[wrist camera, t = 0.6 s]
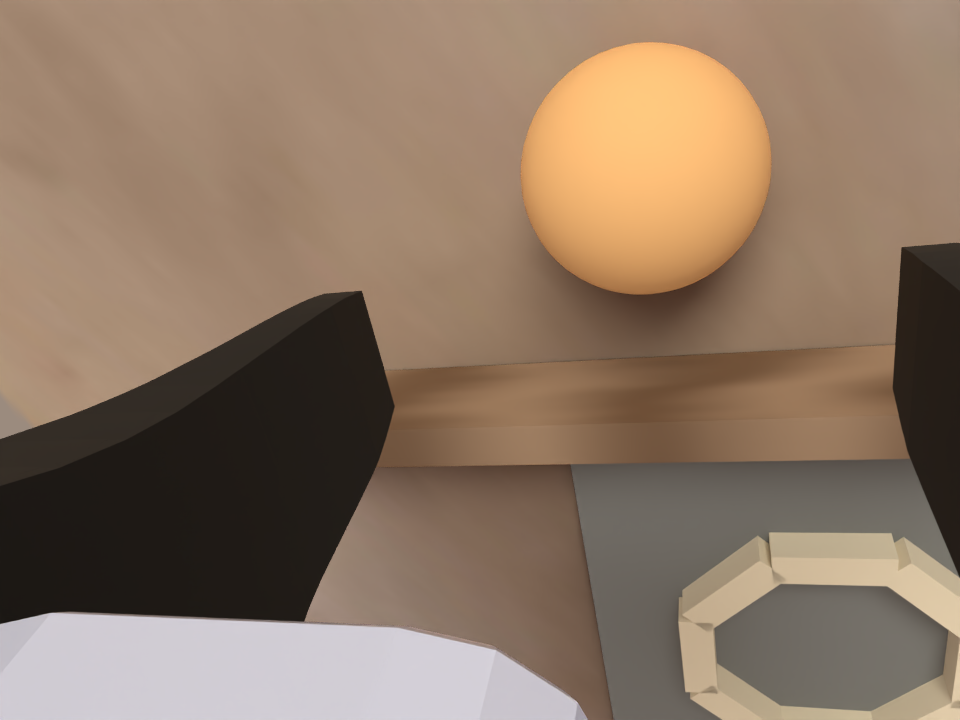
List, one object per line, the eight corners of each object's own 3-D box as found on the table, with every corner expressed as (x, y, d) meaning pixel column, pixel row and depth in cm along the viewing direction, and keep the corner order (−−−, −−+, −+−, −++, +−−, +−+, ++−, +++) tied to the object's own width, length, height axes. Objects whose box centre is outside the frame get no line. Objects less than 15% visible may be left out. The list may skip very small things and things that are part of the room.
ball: (760, 2, 17) (781, 52, 13) (765, 227, 20) (783, 330, 15) (524, 40, 19) (475, 97, 14) (556, 246, 21) (522, 346, 17)
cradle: (1135, 441, 20) (1162, 477, 19) (1051, 785, 27) (1067, 827, 26) (571, 452, 24) (565, 482, 23) (621, 750, 31) (618, 785, 30)
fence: (1162, 330, 19) (1233, 405, 16) (1151, 375, 19) (1218, 453, 17) (295, 375, 25) (251, 434, 23) (307, 408, 26) (265, 468, 23)
